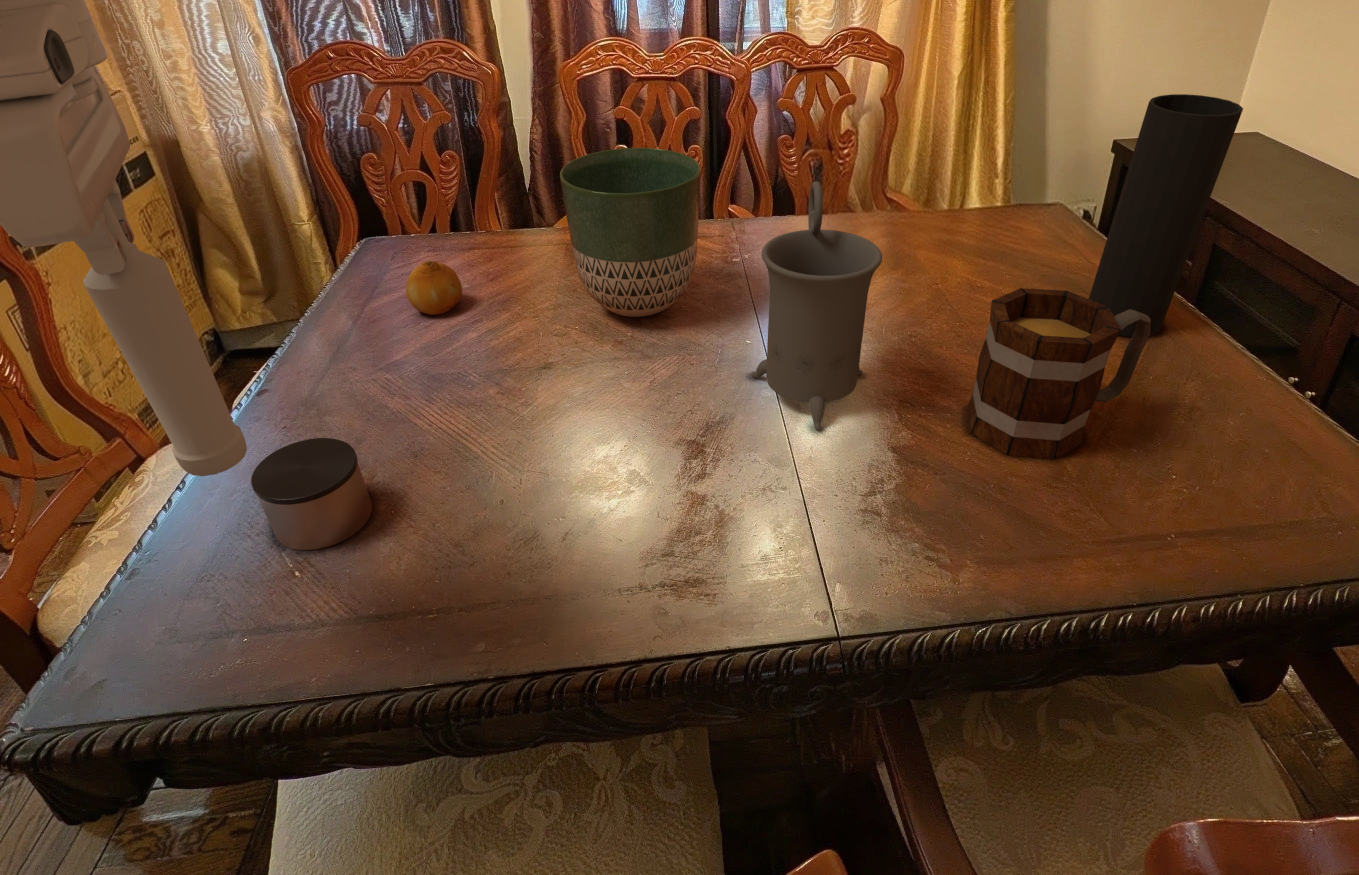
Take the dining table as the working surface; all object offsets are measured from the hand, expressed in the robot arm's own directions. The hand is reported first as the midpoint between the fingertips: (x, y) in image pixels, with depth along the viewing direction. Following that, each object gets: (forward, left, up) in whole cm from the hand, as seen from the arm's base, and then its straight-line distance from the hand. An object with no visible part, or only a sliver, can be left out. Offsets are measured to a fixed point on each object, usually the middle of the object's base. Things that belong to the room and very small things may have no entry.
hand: (117, 258), depth 55 cm
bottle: (0, 0, -18) cm, 18 cm away
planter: (+67, +11, -36) cm, 77 cm away
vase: (+104, -50, -36) cm, 121 cm away
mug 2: (+62, -22, -36) cm, 75 cm away
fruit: (+49, +37, -36) cm, 71 cm away
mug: (+72, -49, -36) cm, 94 cm away
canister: (+10, +8, -36) cm, 38 cm away
